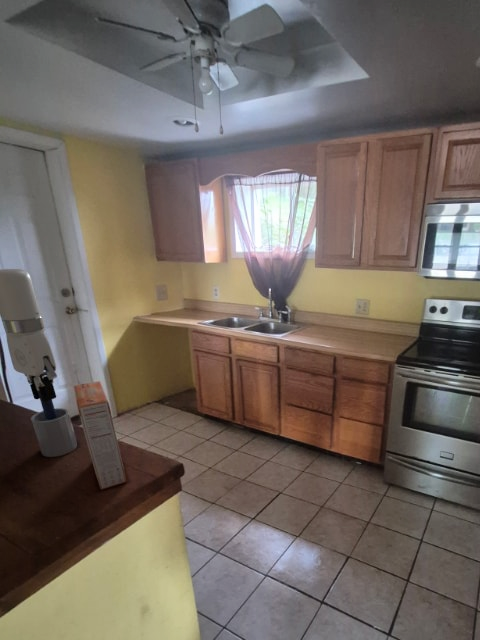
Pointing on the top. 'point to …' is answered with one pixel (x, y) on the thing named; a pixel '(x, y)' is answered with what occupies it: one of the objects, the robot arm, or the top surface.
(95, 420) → the cracker box
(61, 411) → the pen pot
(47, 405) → the marker
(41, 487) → the top surface
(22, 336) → the robot arm
